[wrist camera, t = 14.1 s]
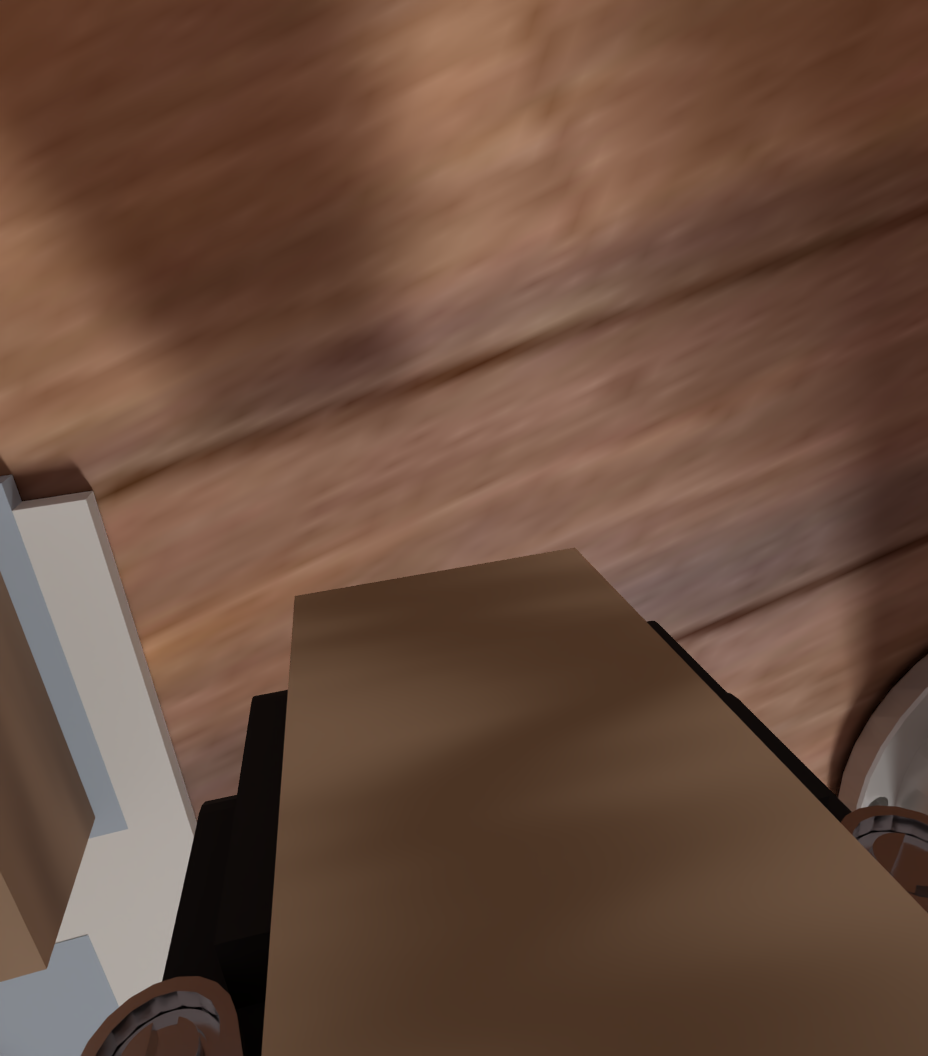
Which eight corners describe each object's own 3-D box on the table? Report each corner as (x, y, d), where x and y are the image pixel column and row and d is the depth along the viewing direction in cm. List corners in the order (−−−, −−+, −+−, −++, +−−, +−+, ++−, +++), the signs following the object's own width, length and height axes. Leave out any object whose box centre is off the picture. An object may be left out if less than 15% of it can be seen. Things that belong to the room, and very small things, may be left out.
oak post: (574, 547, 11) (1080, 1071, 4) (584, 770, 13) (951, 1441, 5) (295, 596, 10) (239, 1351, 3) (342, 824, 12) (380, 1682, 5)
